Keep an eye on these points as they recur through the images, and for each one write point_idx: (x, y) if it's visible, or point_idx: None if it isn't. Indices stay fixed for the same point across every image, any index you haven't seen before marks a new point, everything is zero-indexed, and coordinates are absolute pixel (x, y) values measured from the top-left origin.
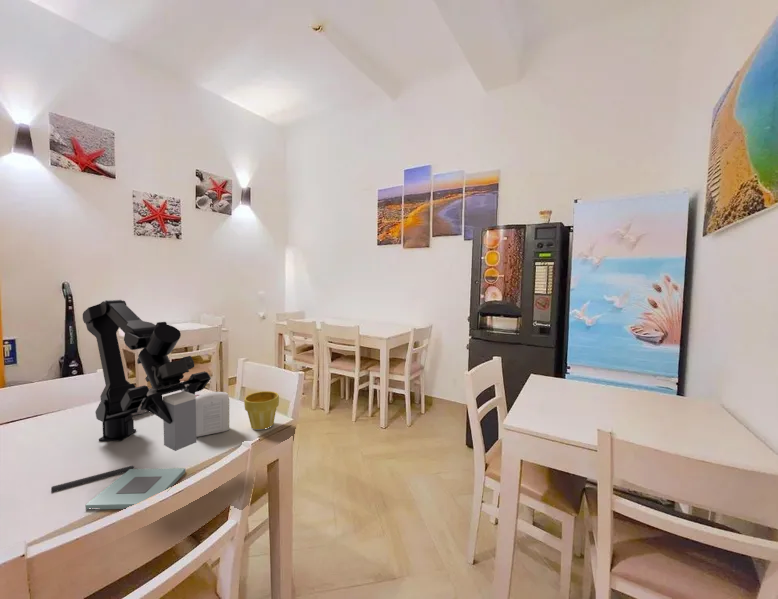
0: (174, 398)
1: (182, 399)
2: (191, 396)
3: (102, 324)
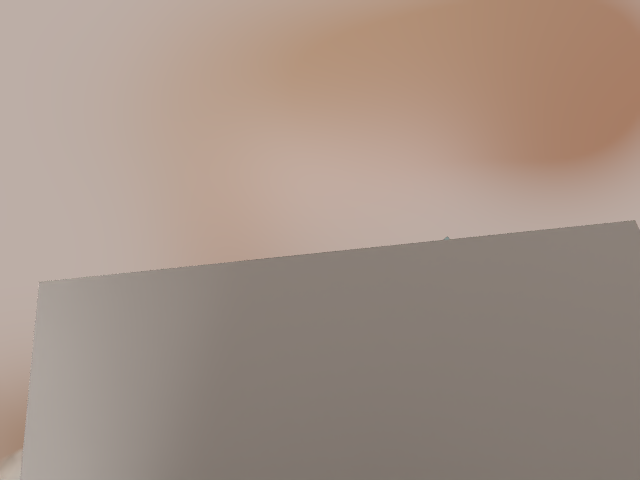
0: (623, 425)
1: (437, 242)
2: (184, 278)
3: None
